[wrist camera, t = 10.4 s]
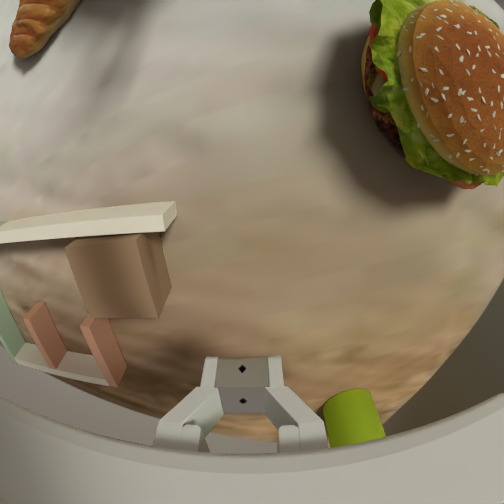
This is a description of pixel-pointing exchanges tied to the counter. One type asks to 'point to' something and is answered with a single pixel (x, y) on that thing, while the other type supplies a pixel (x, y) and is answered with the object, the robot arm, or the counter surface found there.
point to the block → (120, 274)
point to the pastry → (38, 24)
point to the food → (438, 87)
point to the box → (94, 329)
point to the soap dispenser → (352, 418)
